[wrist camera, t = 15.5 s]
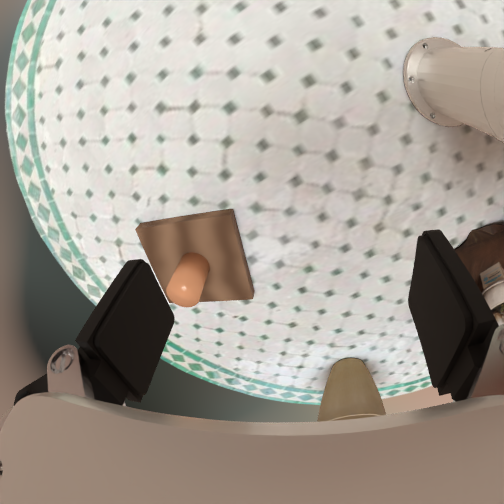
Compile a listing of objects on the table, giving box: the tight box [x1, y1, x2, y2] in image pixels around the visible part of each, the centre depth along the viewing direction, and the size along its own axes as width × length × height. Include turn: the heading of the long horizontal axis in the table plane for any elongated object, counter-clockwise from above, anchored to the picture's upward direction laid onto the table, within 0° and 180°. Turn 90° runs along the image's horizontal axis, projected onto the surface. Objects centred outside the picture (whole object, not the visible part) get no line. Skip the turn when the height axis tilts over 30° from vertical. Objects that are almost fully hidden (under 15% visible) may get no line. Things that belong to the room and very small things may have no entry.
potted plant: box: [455, 224, 504, 326], centre depth 36 cm, size 20×19×25 cm
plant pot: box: [317, 358, 386, 422], centre depth 55 cm, size 15×15×16 cm
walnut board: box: [135, 209, 254, 303], centre depth 48 cm, size 16×16×2 cm
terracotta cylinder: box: [166, 253, 210, 307], centre depth 44 cm, size 5×5×7 cm
